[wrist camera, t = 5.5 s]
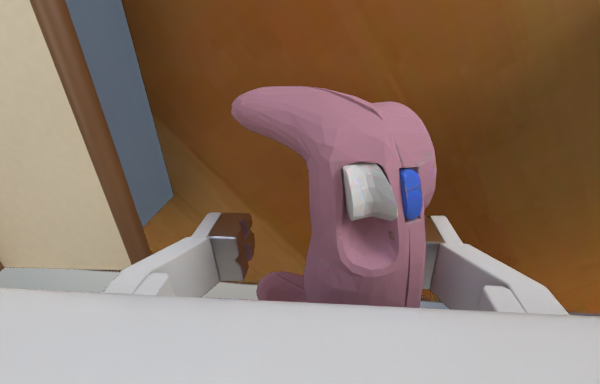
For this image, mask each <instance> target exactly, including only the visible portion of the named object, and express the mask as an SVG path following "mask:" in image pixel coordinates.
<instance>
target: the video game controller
mask: <svg viewBox="0 0 600 384" xmlns="http://www.w3.org/2000/svg"><path fill="white" fill-rule="evenodd" d="M231 114H232V116H233V117H234V118H235V119H236V120H237V121H238V122H239V123H240V124H241V125H242V126H244V127H245V128H246V129H248V130H250V131H253V132H256V133H258V134H261V135H263V136H266V137H268V138H271V139H274V140H276V141H278V142H280V143H282V144H284V145H286V146H287V147H289V148H291V149H293V150H294V151H296V152H297V153H298V154H299V155H301V156H302V157H303V158H304V160H305V162H306V164H307V168H308V172H309V202H310V217H311V231H312V236H311V240H310V244H309V248H308V253H307V258H306V264H305V270H304V276H301V275H298V274H293V273H289V272H274V273H272V272H271V273H268V274H267V275H266V276H264V277H263V278H262V279H261V280H260V281H259V283H258V286H257V296H258V299H259V300H265V301H285V302H306V303H327V304H348V305H368V306H389V307H410V308H419V306H420V301H421V294H422V287H423V280H424V267H425V252H426V241H425V220H424V211H425V209H426V208H427V206H428V205H429V203H430V201H431V199H432V196H433V193H434V191H435V184H436V172H437V169H436V160H435V152H434V147H433V144H432V141H431V138H430V136H429V133H428V131H427V129H426V128H425V126H424V124H423V122H422V120H421V119H420V118H419V117H418V116H417V114H416V113H415V112H413V111H412V110H411V109H410V108H408V107H407V106H405V105H403V104H401V103H397V102H393V101H392V102H380V103H369V102H367V101H365V100H362V99H360V98H358V97H356V96H352V95H348V94H344V93H340V92H336V91H332V90H329V89H323V88H316V87H305V86H274V87H262V88H258V89H254V90H251V91H249V92H246V93H244V94H242V95H240V96H239V97H237V98H236V99H235V100H234V102H233V103H232V105H231Z"/></svg>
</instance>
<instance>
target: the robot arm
mask: <svg viewBox="0 0 600 384" xmlns="http://www.w3.org/2000/svg"><path fill="white" fill-rule="evenodd" d="M424 220H425V241H426V252H425V267H424V280H423V287H422V289H430V291H431V292H432V293H433V294H434V295H435V296H436V297H437V298H438V299H439V300H440V301H441V302H442V303H444V304H445V305H446V306H447V307H448V308H449V309H431V308H410V307H389V306H368V305H348V304H327V303H306V302H285V301H265V300H243V299H223V298H203V296H204V295H205V294H206V293H207V292H208V291H210V290H211V289H212V288H213V287H214V286H216V285H217V284H218V283H219V282H220V281H244V278H245V276H246V273H247V270H248V268H249V267H248V261H250V260H251V259H252V257H253V254H254V248H255V238H254V233H253V232H252V231H251V230H250V228H251V226H252V218H251V215H250V214H249V213H222V212H211V213H208V214H207V215H206V217H205V218H204V219H203V221H202V222H201V223H200V225H199V226H198V228H197V229H196V230H195V232H194V233H193V235H192V236H191V237H186V238H184V239H182V240H180V241H178V242H176V243H174V244H172V245H170V246H168V247H166V248H164V249H162V250H160V251H158V252H156V253H155V254H153V255H151V256H149V257H147V258H145V259H143V260H141V261H139V262H137V263H135V264H133V265H131V266H129V267H127V268H125V269H123V270H122V271H121V272H120V273H119V274H118V275H117V276H116V277H115V278H114V280H113V281H112V282H111V283H110V284H109V285H108V286H107V287H106V288H105V289H104V290H103V292H102V293H99V292H78V291H57V290H36V289H14V288H0V384H600V317H596V316H575V315H569V314H568V313H567V311H566V310H565V309H564V308H563V307H562V305H561V304H560V303H559V302H558V301H557V300H556V298H555V297H554V296H553V295H552V294H551V292H550V291H549V290H548V289H547V288H546V287H545V286H543V285H542V284H540V283H538V282H536V281H534V280H532V279H531V278H529V277H527V276H525V275H523V274H522V273H520V272H518V271H516V270H514V269H513V268H511V267H509V266H507V265H505V264H503V263H502V262H500V261H498V260H496V259H494V258H493V257H491V256H489V255H487V254H485V253H483V252H482V251H480V250H478V249H476V248H474V247H473V246H471V245H469V244H463V243H462V241H461V240H460V238H459V236H458V235H457V233H456V232H455V230H454V229H453V227H452V225H451V224H450V222H449V221H448V219H447V218H446V217H445V216H444V215H442V216H424Z"/></svg>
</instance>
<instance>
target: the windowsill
mask: <svg viewBox="0 0 600 384" xmlns="http://www.w3.org/2000/svg"><path fill="white" fill-rule="evenodd" d="M173 196H174V195H173V192H172V188H171V184H170V180H169V177H168V173H167V169H166V165H165V162H164V158H163V154H162V151H161V147H160V143H159V139H158V136H157V132H156V128H155V124H154V121H153V117H152V113H151V109H150V106H149V102H148V98H147V95H146V91H145V87H144V83H143V80H142V76H141V72H140V68H139V65H138V61H137V57H136V53H135V50H134V46H133V42H132V39H131V35H130V31H129V27H128V24H127V20H126V16H125V12H124V9H123V5H122V1H121V0H0V271H1V270H2V269H3V268H48V269H96V270H123V269H125V268H127V267H129V266H131V265H133V264H135V263H137V262H139V261H141V260H143V259H145V258H147V257H149V256H151V255H152V254H151V251H150V248H149V245H148V242H147V239H146V236H145V233H144V230H143V227H144V226H145V225H146V224H147V223H148V222H149V221H150V220H151V219H152V217H153V216H154V215H155V214H156V213H157V212H158V211H159V210H160V209H161V208H162V207H163V206H164V205H165V204H166V203H167V202H168V201H169V200H170V199H171V198H172V197H173Z"/></svg>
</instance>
